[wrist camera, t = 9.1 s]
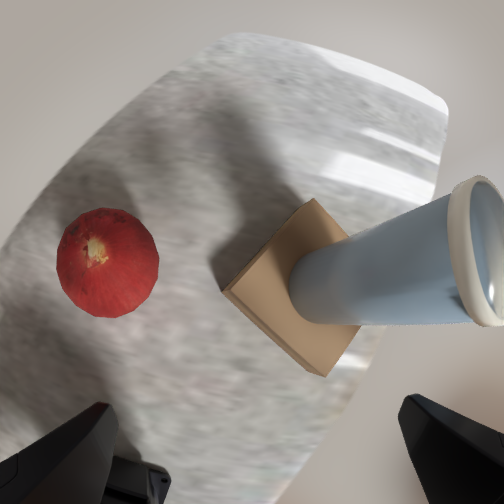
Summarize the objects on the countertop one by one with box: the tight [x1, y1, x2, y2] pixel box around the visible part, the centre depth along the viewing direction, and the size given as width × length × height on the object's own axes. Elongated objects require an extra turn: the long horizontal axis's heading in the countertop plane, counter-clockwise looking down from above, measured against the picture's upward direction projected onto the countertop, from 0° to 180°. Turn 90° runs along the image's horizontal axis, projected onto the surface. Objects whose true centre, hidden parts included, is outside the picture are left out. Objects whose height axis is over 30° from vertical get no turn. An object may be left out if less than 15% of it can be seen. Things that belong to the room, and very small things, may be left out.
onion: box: [56, 208, 159, 318], centre depth 14 cm, size 6×6×8 cm
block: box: [222, 198, 362, 378], centre depth 21 cm, size 9×9×2 cm
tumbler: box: [289, 175, 504, 327], centre depth 13 cm, size 5×5×13 cm
